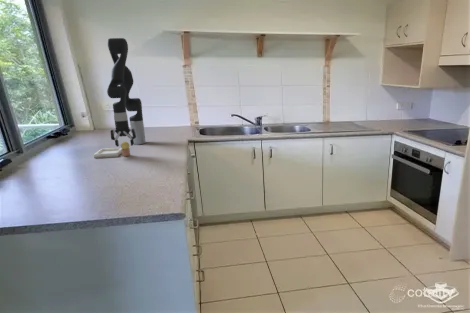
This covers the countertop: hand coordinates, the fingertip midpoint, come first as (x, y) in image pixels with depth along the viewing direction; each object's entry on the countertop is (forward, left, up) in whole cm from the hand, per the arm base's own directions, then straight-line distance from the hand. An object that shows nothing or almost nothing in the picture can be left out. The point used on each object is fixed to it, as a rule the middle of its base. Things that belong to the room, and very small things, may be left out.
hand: (124, 145), depth 172 cm
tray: (-6, -12, -7) cm, 15 cm away
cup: (0, 0, -7) cm, 7 cm away
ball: (0, 0, 0) cm, 0 cm away
